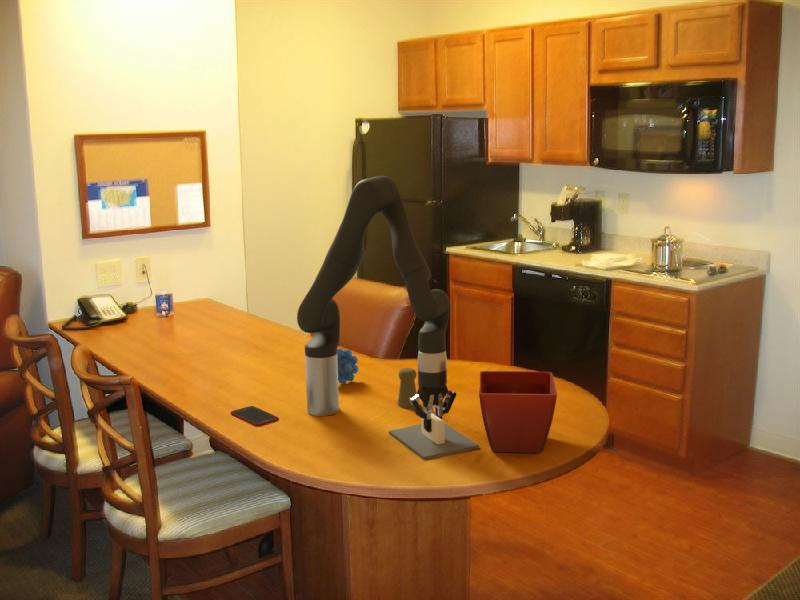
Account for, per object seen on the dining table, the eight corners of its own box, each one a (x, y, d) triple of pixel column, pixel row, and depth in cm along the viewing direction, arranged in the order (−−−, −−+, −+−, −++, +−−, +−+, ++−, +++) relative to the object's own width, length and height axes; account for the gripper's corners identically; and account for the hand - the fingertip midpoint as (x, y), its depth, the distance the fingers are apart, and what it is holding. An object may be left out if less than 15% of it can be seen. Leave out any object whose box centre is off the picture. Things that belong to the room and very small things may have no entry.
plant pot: (479, 429, 233) (479, 369, 229) (550, 430, 231) (552, 371, 227) (478, 457, 214) (478, 393, 211) (555, 459, 213) (557, 394, 209)
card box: (421, 433, 229) (421, 411, 227) (428, 431, 230) (428, 410, 228) (437, 444, 221) (437, 422, 219) (444, 442, 222) (444, 421, 220)
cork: (394, 406, 251) (394, 370, 249) (401, 400, 257) (401, 364, 254) (414, 408, 249) (413, 372, 247) (420, 402, 255) (420, 366, 252)
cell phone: (252, 408, 253) (252, 405, 252) (280, 421, 242) (280, 418, 242) (229, 414, 248) (229, 411, 247) (257, 428, 237) (257, 424, 237)
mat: (388, 433, 231) (388, 430, 231) (440, 423, 238) (440, 420, 237) (423, 459, 213) (423, 456, 213) (478, 447, 220) (478, 445, 220)
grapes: (335, 391, 266) (334, 353, 263) (323, 385, 271) (322, 349, 268) (366, 383, 273) (365, 347, 270) (354, 378, 278) (353, 342, 275)
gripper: (448, 359, 227) (448, 421, 231) (401, 367, 221) (402, 430, 225) (462, 366, 221) (463, 430, 224) (415, 375, 215) (416, 440, 218)
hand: (432, 430), depth 225 cm, fingers closed on card box, 2 cm apart
